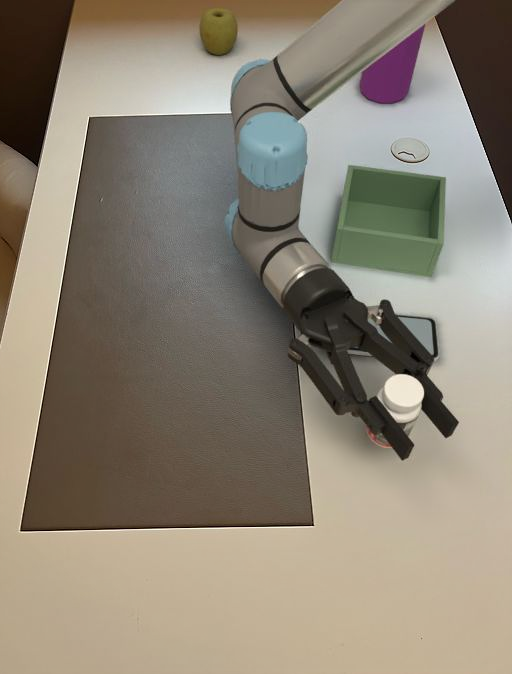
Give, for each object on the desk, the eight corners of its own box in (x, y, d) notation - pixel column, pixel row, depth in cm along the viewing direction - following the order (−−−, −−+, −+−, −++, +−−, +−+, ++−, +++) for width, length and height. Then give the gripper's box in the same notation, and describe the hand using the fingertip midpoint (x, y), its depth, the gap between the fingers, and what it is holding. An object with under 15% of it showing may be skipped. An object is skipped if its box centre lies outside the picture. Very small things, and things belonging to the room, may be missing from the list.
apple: (239, 41, 129) (240, 4, 123) (234, 62, 124) (234, 24, 118) (203, 39, 129) (202, 2, 124) (197, 59, 125) (195, 22, 119)
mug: (355, 101, 116) (370, 16, 104) (367, 58, 125) (383, -25, 112) (404, 108, 115) (426, 23, 102) (414, 65, 123) (434, -19, 111)
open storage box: (434, 211, 99) (446, 177, 93) (430, 277, 91) (443, 243, 85) (342, 199, 101) (348, 164, 95) (330, 262, 93) (337, 228, 87)
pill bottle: (357, 430, 70) (370, 389, 63) (382, 405, 72) (398, 363, 65) (391, 457, 68) (408, 418, 61) (416, 430, 70) (436, 389, 63)
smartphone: (440, 360, 81) (325, 348, 82) (438, 364, 82) (324, 353, 83) (436, 317, 86) (326, 306, 86) (434, 321, 86) (325, 311, 87)
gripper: (364, 285, 80) (487, 424, 68) (241, 337, 75) (350, 495, 63) (375, 241, 73) (513, 386, 62) (242, 294, 69) (363, 461, 57)
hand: (430, 441), depth 63 cm, fingers closed on pill bottle, 5 cm apart
